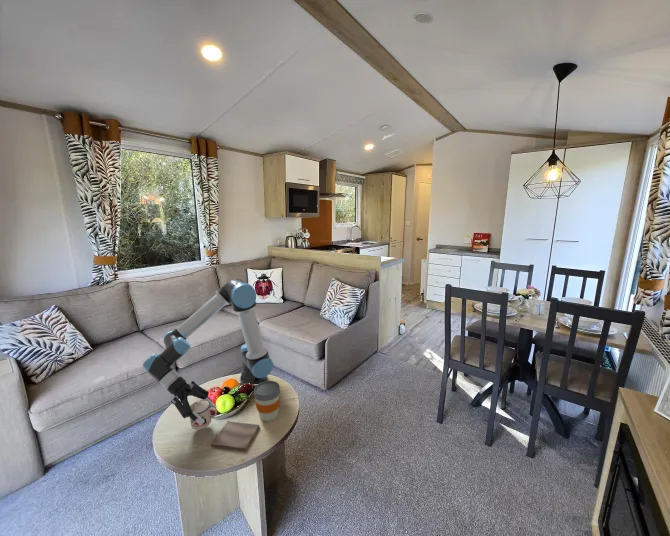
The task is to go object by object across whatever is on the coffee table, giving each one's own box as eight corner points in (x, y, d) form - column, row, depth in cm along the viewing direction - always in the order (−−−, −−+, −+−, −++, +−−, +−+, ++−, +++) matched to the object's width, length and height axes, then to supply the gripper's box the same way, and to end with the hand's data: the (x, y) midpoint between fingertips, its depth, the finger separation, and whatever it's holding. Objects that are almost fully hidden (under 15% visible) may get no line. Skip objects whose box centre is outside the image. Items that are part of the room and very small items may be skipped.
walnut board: (227, 423, 142) (227, 421, 142) (259, 427, 139) (259, 424, 139) (211, 446, 128) (210, 443, 128) (245, 451, 126) (245, 448, 125)
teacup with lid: (187, 431, 133) (184, 409, 131) (193, 417, 142) (190, 396, 139) (215, 428, 135) (213, 405, 132) (220, 414, 144) (217, 393, 141)
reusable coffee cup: (250, 420, 144) (248, 393, 141) (264, 404, 156) (262, 378, 153) (273, 426, 140) (271, 398, 137) (286, 409, 152) (284, 383, 149)
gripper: (184, 373, 147) (217, 405, 148) (151, 402, 126) (189, 438, 127) (192, 364, 145) (226, 396, 146) (160, 392, 124) (199, 428, 125)
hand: (209, 415), depth 137 cm, fingers closed on teacup with lid, 9 cm apart
